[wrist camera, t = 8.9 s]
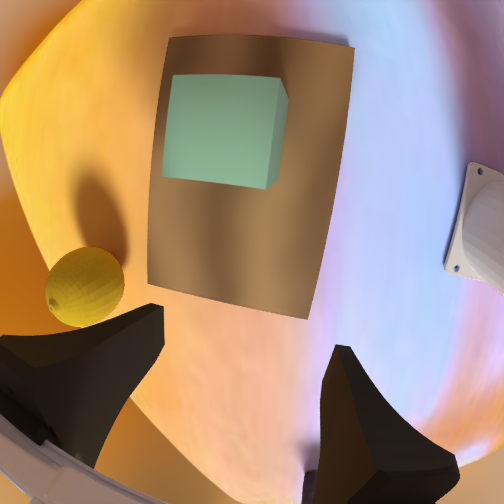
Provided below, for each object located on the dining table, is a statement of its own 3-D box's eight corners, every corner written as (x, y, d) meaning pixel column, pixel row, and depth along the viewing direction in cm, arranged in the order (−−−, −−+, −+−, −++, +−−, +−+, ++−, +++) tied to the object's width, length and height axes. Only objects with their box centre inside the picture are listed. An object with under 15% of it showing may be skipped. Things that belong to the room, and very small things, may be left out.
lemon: (97, 224, 22) (27, 254, 15) (149, 255, 22) (84, 300, 15) (87, 276, 24) (27, 315, 17) (134, 307, 24) (78, 359, 17)
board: (352, 54, 15) (354, 48, 14) (308, 311, 21) (307, 319, 20) (176, 42, 16) (169, 37, 15) (155, 277, 23) (147, 283, 21)
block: (289, 99, 16) (280, 78, 11) (278, 180, 17) (265, 189, 13) (208, 93, 16) (173, 75, 12) (199, 170, 18) (161, 176, 13)
